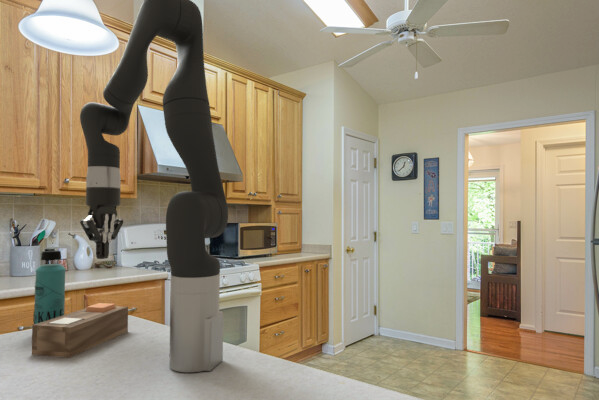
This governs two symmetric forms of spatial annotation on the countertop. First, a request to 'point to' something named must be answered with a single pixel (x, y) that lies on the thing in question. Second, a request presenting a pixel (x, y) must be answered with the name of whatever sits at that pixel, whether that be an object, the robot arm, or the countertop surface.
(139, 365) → the countertop surface
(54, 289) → the beverage bottle
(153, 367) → the countertop surface
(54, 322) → the white plug
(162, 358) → the countertop surface
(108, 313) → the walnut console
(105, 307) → the terracotta plug
